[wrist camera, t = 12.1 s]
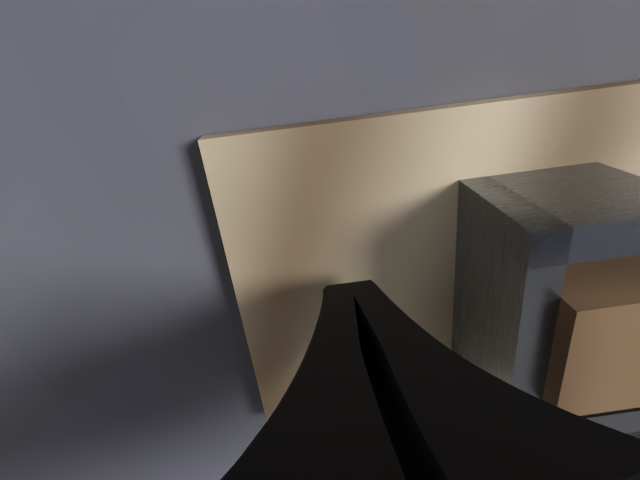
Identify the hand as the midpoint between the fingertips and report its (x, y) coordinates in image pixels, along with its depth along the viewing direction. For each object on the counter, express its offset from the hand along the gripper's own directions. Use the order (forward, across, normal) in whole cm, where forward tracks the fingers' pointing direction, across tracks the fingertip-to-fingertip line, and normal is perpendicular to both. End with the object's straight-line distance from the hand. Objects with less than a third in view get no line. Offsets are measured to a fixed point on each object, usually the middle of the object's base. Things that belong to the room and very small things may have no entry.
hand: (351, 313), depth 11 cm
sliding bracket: (+1, -5, 0) cm, 5 cm away
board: (+2, -6, 0) cm, 6 cm away
